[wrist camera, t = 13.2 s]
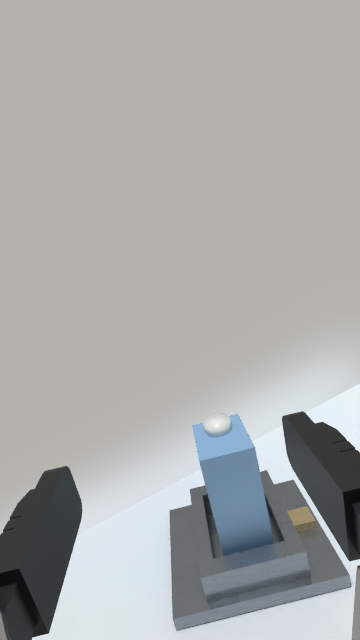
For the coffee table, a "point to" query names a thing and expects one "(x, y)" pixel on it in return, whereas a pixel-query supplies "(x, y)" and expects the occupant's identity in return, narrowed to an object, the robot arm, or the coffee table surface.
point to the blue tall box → (233, 483)
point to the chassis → (249, 560)
